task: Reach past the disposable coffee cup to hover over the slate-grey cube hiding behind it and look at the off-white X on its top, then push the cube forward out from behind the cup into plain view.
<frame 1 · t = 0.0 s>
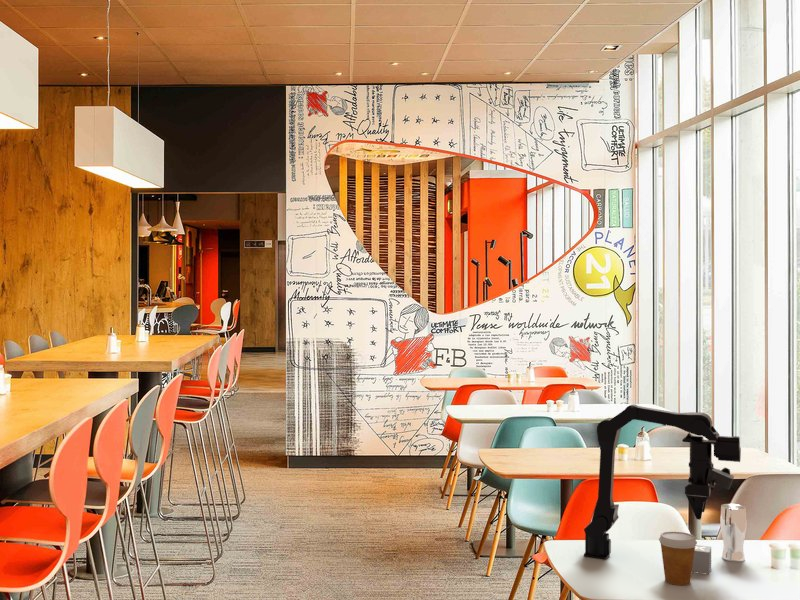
hand: (700, 515, 228), 15 cm above the table, tool pointing down, fingers open, 9 cm apart
grey cube: (698, 570, 227), on the table
beer glass: (733, 559, 237), on the table
disposable coffee cup: (677, 582, 217), on the table
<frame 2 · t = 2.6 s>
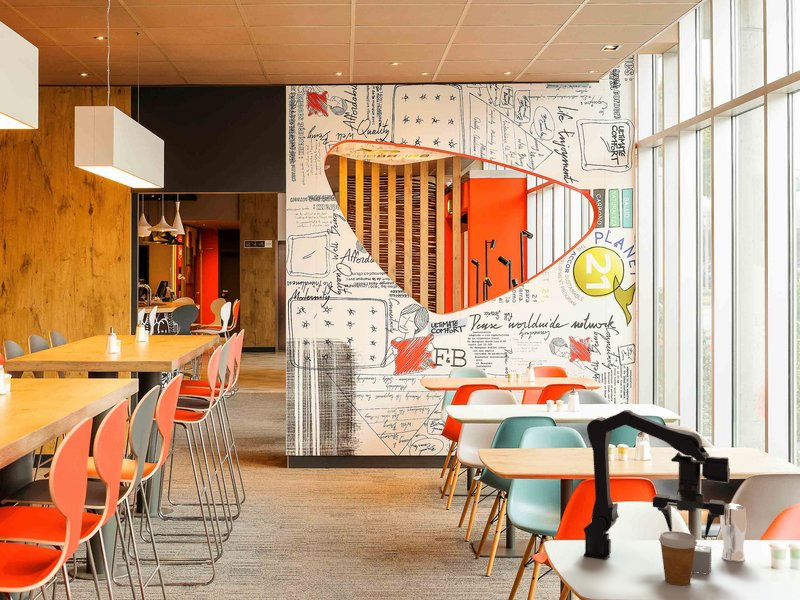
hand: (688, 535, 228), 9 cm above the table, tool pointing down, fingers open, 9 cm apart
nothing on the table moved.
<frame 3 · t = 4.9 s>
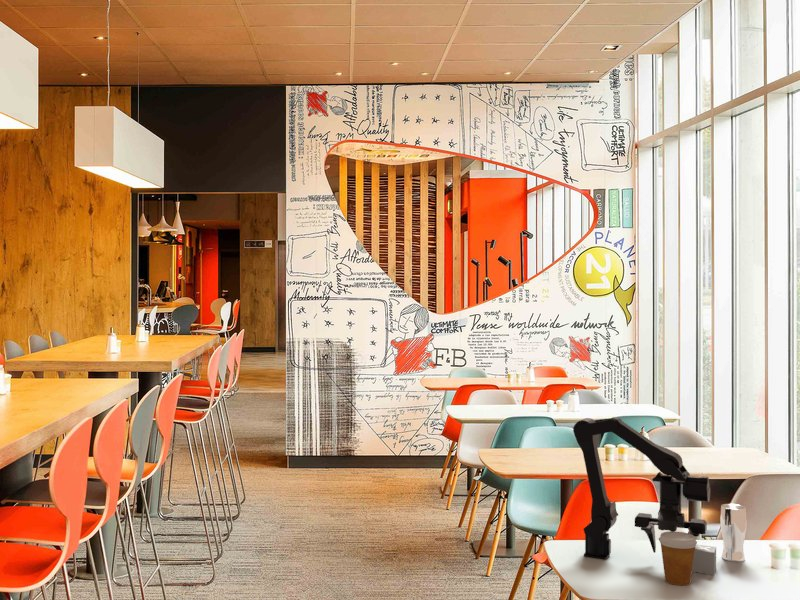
hand: (670, 554, 230), 3 cm above the table, tool pointing down, fingers open, 8 cm apart
grey cube: (703, 570, 226), on the table, touching gripper
everything else where it was.
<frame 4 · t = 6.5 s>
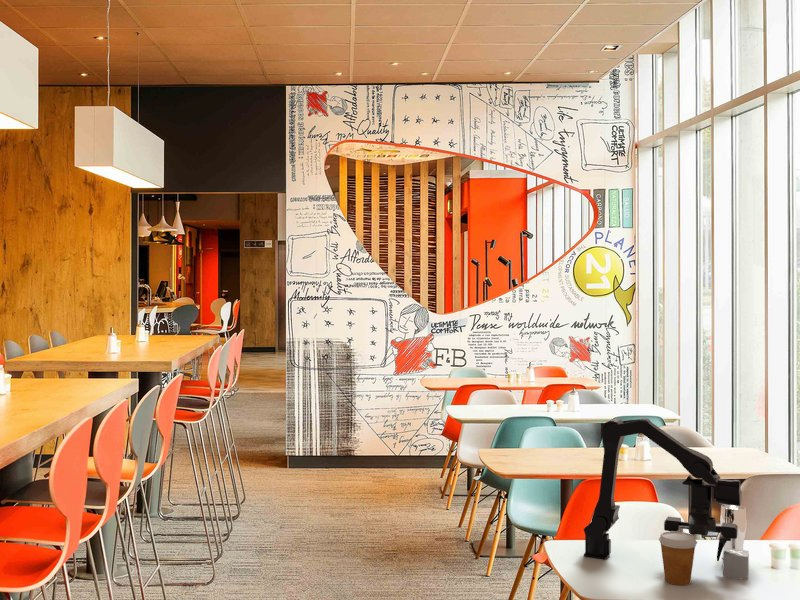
hand: (700, 558, 227), 3 cm above the table, tool pointing down, fingers open, 8 cm apart
grey cube: (736, 574, 223), on the table, touching gripper
everything else where it was.
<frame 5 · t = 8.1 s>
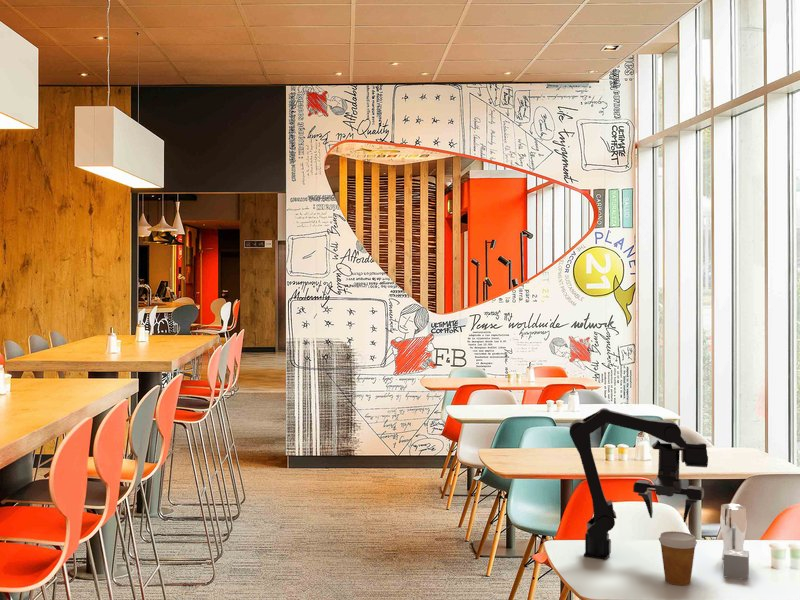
hand: (667, 519, 236), 11 cm above the table, tool pointing down, fingers open, 9 cm apart
grey cube: (736, 575, 223), on the table
everything else where it was.
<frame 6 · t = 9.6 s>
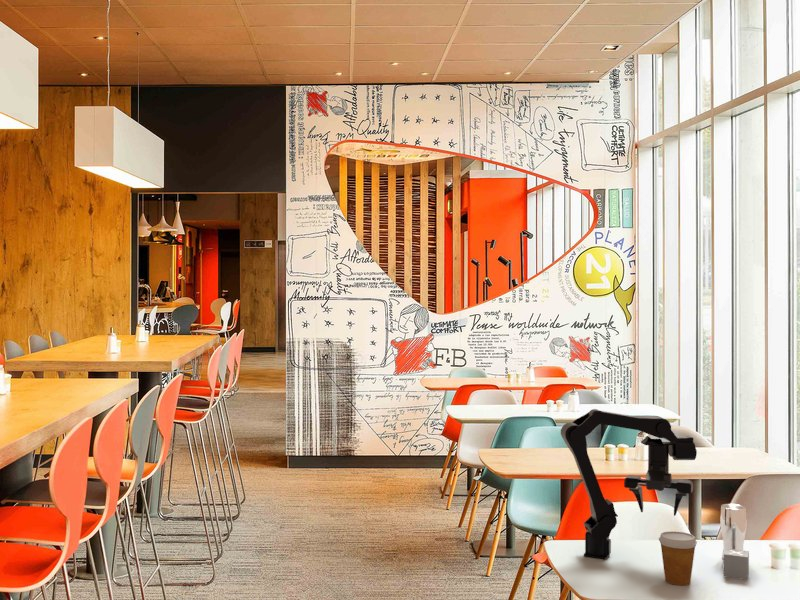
hand: (658, 513, 240), 12 cm above the table, tool pointing down, fingers open, 9 cm apart
nothing on the table moved.
at the end: grey cube inside the target area (0.1 cm from its centre), on the table; grey cube tilted 0°; disposable coffee cup moved 0.2 cm from its start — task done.
